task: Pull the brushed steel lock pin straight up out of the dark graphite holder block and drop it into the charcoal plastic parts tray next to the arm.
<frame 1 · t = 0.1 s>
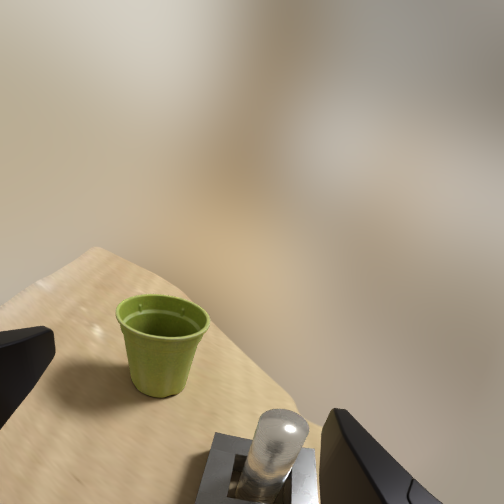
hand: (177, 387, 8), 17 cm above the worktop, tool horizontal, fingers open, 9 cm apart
plant pot: (158, 382, 31), on the worktop
pin holder: (255, 495, 19), on the worktop
lock pin: (268, 465, 18), in the pin holder
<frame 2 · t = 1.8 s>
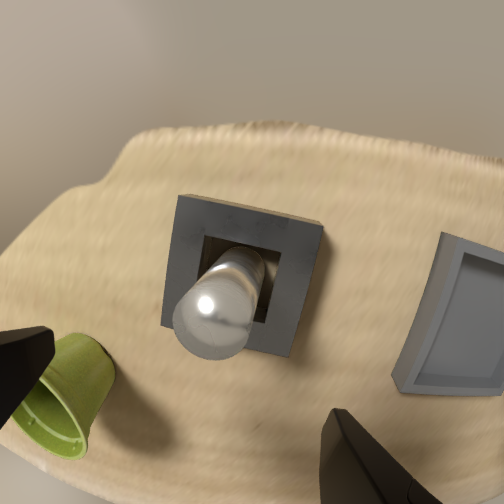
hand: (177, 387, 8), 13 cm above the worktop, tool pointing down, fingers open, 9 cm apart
parts tray: (473, 319, 20), on the worktop
plant pot: (90, 361, 25), on the worktop
pin holder: (240, 270, 21), on the worktop
lock pin: (229, 291, 17), in the pin holder
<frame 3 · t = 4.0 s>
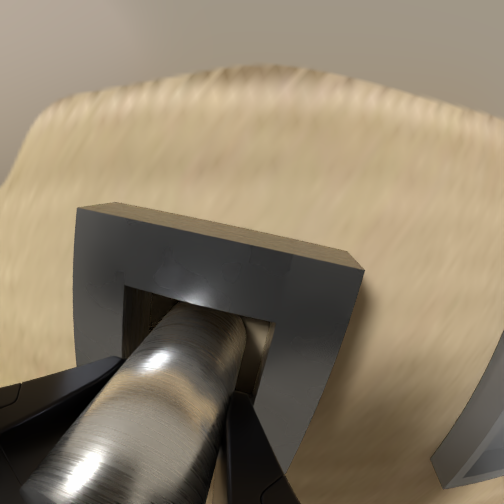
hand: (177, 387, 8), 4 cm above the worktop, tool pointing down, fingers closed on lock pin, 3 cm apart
pin holder: (205, 334, 12), on the worktop
lock pin: (166, 407, 7), in the pin holder, touching gripper
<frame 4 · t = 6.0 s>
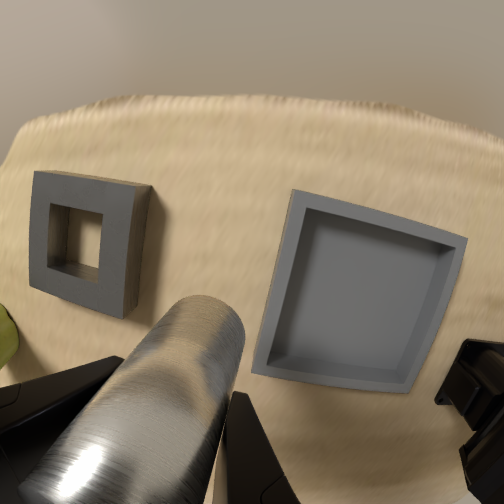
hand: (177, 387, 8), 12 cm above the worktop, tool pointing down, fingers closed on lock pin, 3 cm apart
parts tray: (356, 295, 20), on the worktop
plant pot: (2, 326, 24), on the worktop
pin holder: (91, 236, 21), on the worktop
lock pin: (165, 407, 7), point 13 cm above the worktop, touching gripper
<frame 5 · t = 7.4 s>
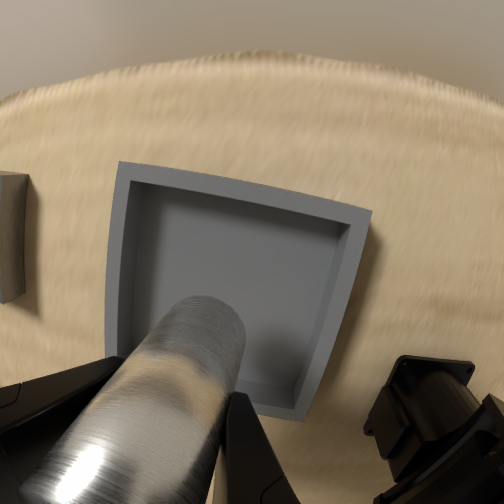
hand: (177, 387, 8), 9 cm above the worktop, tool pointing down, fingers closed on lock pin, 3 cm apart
parts tray: (225, 290, 17), on the worktop
lock pin: (166, 408, 7), point 10 cm above the worktop, touching gripper
when the fingers open (5 cm above the worktop, at t = 8.2 s): lock pin drops 1 cm, resting on parts tray.
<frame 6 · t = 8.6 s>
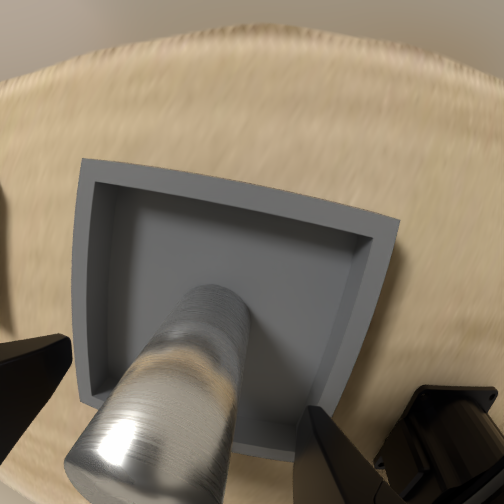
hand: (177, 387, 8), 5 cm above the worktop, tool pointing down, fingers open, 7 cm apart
parts tray: (214, 314, 14), on the worktop
lock pin: (186, 381, 9), in the parts tray, point 5 cm above the worktop
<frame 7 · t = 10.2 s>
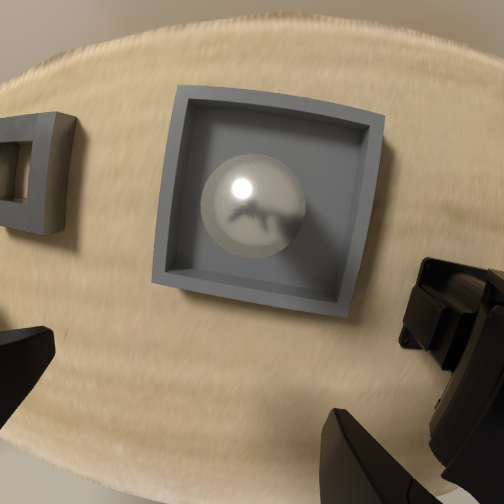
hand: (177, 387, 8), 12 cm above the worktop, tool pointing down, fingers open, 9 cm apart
parts tray: (266, 197, 19), on the worktop
pin holder: (31, 171, 20), on the worktop
lock pin: (262, 200, 14), in the parts tray, point 5 cm above the worktop
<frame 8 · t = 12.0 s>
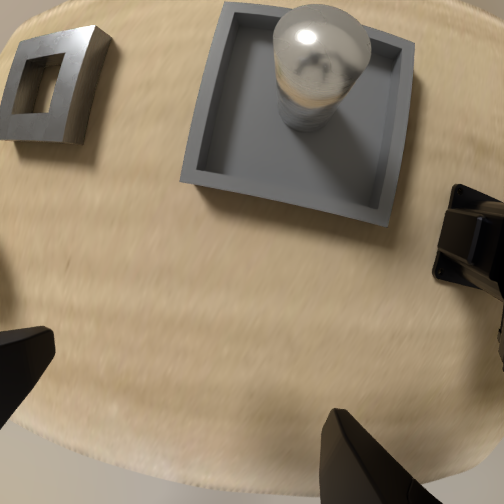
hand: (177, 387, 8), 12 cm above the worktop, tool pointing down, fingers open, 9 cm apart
parts tray: (303, 109, 17), on the worktop
pin holder: (55, 90, 18), on the worktop
lock pin: (311, 82, 12), in the parts tray, point 5 cm above the worktop
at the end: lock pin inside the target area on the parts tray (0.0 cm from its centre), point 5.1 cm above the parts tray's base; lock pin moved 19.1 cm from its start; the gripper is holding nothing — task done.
